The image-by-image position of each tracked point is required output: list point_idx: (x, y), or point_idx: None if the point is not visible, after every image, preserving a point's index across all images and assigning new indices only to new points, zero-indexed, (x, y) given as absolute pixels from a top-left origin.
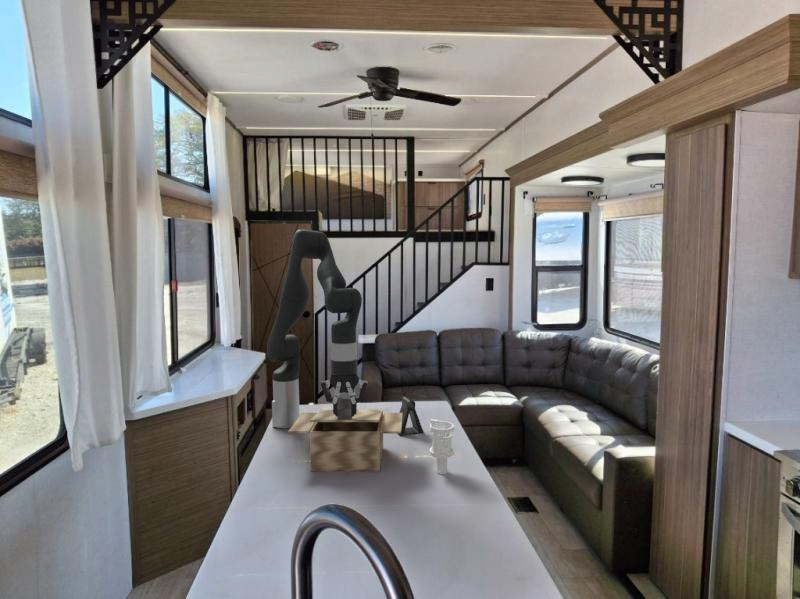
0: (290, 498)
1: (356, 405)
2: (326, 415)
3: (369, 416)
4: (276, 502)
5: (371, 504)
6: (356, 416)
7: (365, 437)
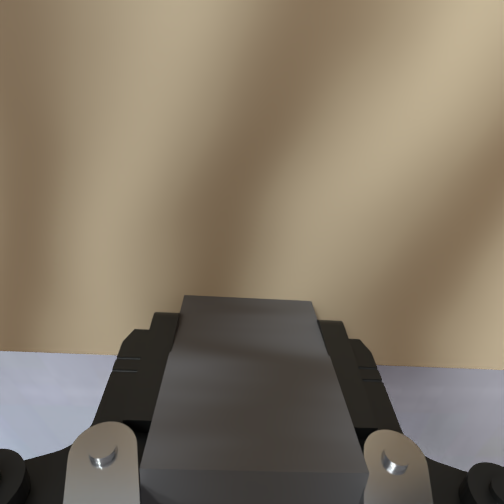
0: (94, 356)
1: (389, 420)
2: (11, 122)
3: (486, 209)
4: (62, 372)
5: None
6: (355, 205)
7: None
